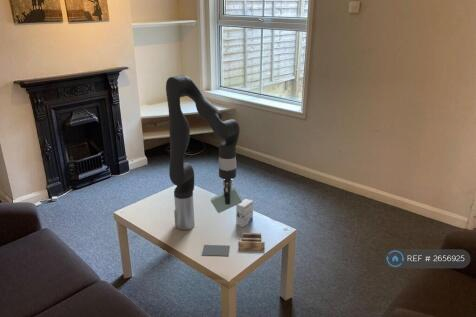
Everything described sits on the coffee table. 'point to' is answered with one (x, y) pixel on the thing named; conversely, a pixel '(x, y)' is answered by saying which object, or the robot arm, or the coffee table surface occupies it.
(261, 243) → the wooden bar
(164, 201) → the coffee table surface
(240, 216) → the ink box
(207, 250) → the rubber mat
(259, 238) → the walnut slot block
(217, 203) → the grey-green rectangular block
